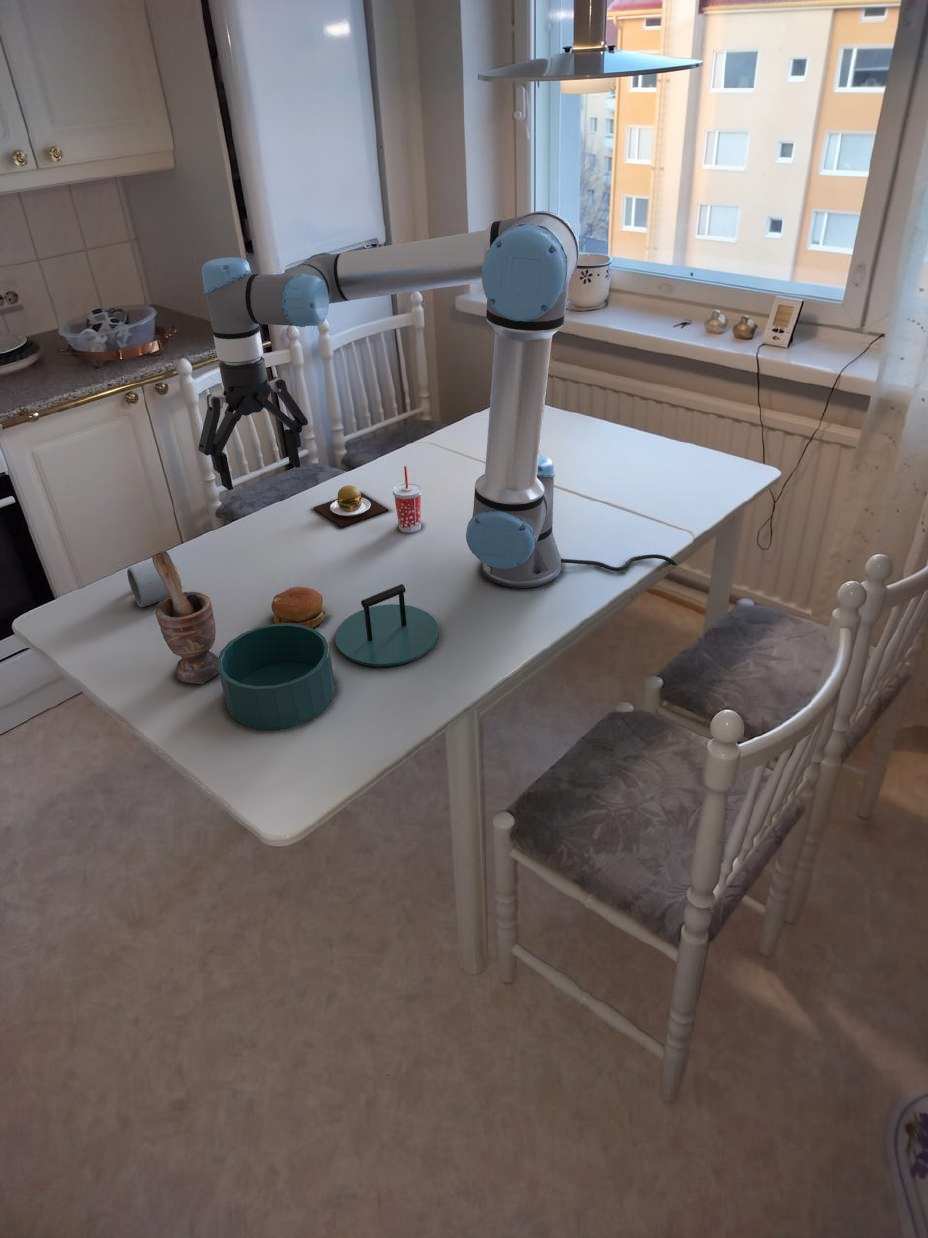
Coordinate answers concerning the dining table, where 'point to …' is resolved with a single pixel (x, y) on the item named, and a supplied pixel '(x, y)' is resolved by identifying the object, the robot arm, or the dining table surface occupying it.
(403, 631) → the lid
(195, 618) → the mortar and pestle
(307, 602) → the burger
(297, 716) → the pot
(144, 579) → the ceramic mug
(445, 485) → the dining table surface
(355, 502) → the hamburger
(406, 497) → the beverage cup
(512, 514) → the robot arm
